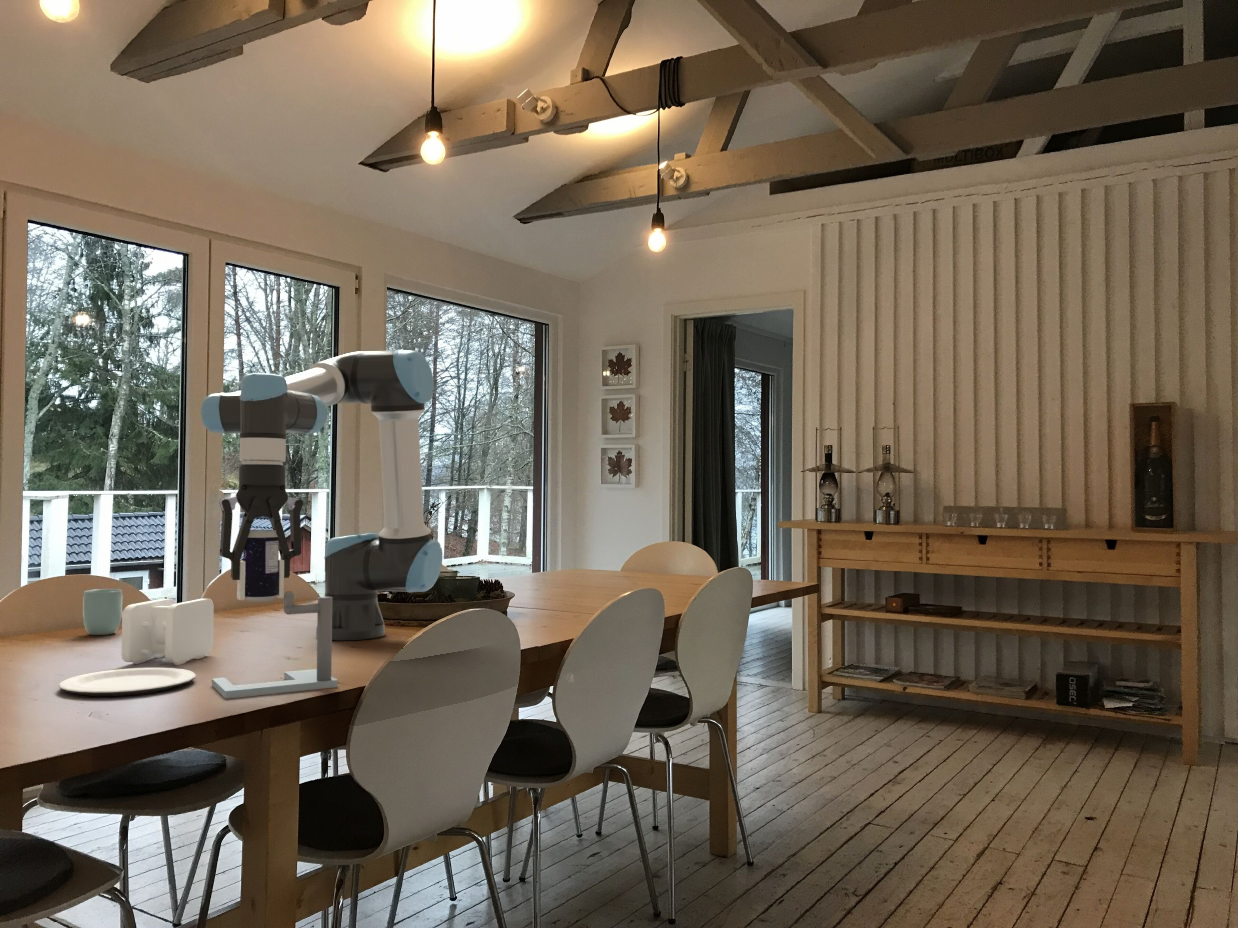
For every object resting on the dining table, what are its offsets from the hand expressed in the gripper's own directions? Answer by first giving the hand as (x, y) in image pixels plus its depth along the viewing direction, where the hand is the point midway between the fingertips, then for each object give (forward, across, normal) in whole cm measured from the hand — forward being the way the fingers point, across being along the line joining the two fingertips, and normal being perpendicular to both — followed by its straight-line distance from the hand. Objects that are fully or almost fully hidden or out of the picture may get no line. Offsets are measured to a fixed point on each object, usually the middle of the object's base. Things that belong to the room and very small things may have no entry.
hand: (260, 597), depth 166 cm
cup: (+15, +18, -78) cm, 81 cm away
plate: (+16, +19, -11) cm, 27 cm away
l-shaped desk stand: (+15, -2, +2) cm, 15 cm away
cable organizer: (+15, +10, -34) cm, 38 cm away
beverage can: (+1, 0, 0) cm, 1 cm away
